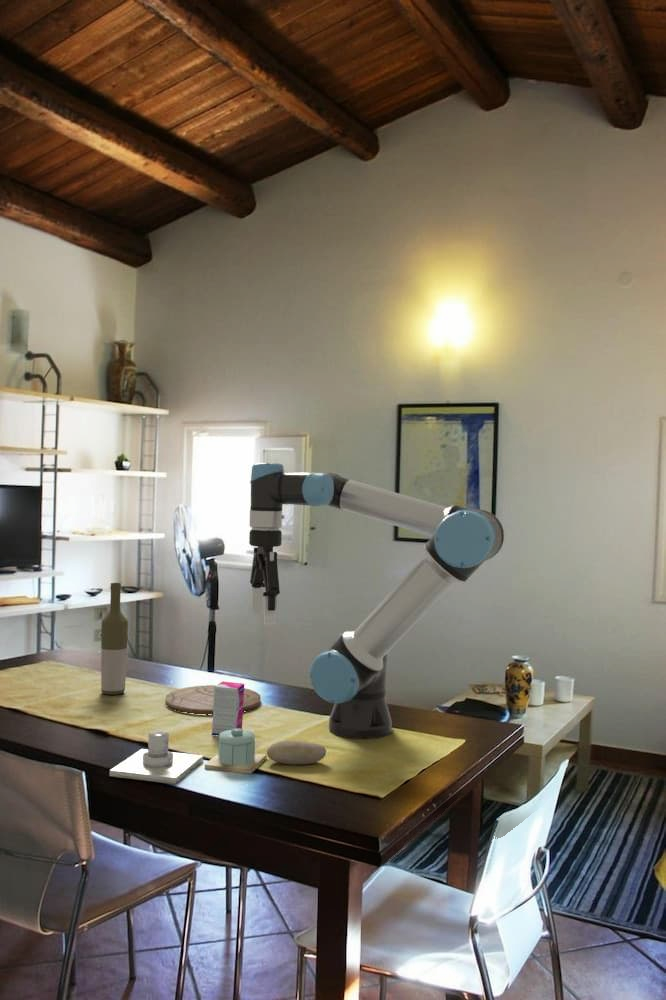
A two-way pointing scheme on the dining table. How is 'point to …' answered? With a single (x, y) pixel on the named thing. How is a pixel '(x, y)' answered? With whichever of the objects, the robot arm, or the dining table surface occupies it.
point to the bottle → (114, 646)
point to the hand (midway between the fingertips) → (263, 619)
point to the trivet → (205, 699)
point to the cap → (236, 747)
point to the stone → (296, 752)
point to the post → (157, 762)
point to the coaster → (247, 768)
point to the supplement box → (227, 707)
